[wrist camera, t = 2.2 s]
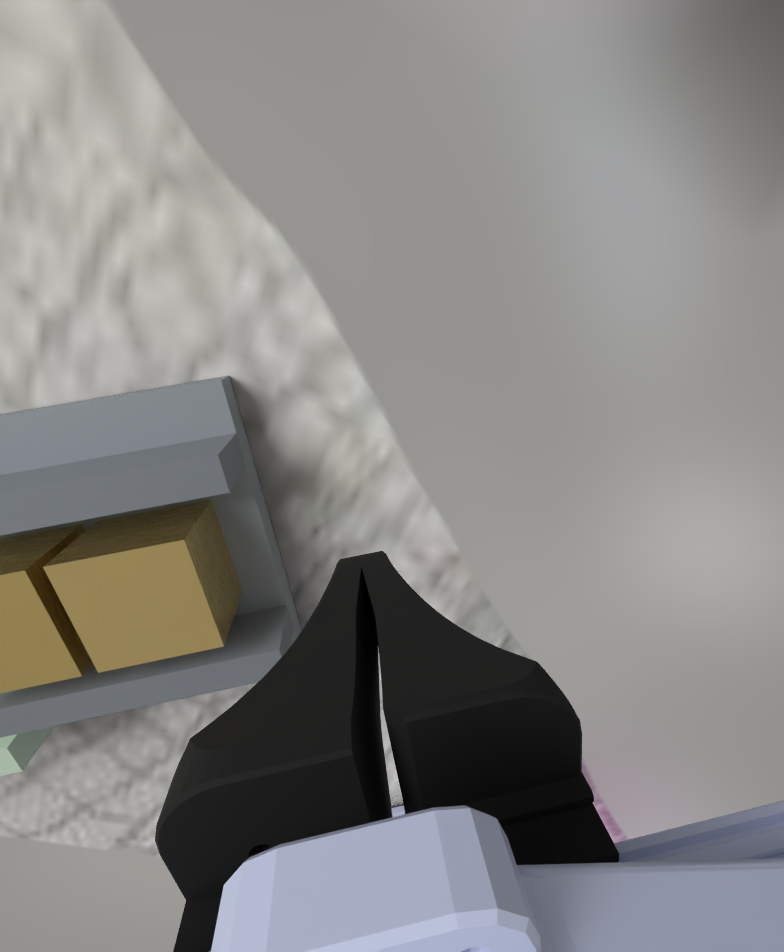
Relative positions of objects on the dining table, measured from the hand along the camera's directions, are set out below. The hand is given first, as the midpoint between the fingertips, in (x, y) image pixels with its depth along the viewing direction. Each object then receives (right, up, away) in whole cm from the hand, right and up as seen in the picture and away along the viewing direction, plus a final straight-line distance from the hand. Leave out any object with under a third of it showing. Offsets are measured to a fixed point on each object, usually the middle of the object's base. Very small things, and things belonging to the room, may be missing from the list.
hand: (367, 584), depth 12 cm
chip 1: (-12, -1, +3) cm, 12 cm away
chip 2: (-7, 0, +4) cm, 8 cm away
